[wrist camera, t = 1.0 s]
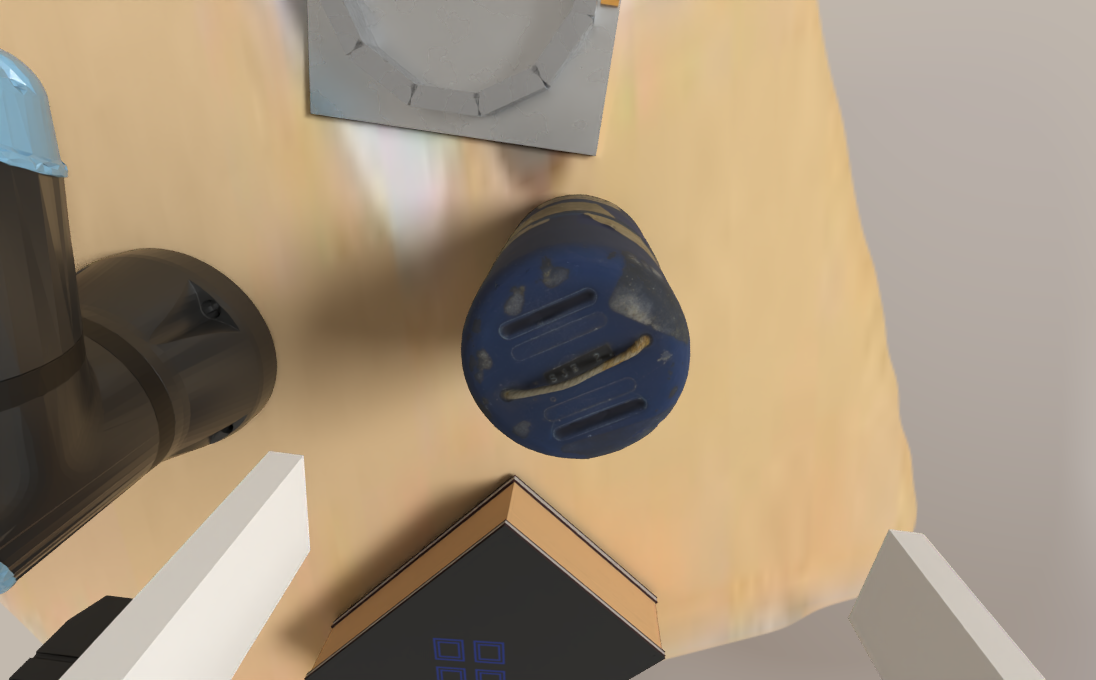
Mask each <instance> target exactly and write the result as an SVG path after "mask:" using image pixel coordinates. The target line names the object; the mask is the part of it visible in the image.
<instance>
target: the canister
mask: <svg viewBox="0 0 1096 680" xmlns="http://www.w3.org/2000/svg"><path fill="white" fill-rule="evenodd" d="M461 357H462V366H463V371H464V376H465V379H466V382H467V385H468V388H469V390H470V392H471V395H472V396H473V398H474V400H475V402H476V404H477V405H478V407H479V408H480V410H481V411H482V412H483V413H484V415H485V416H486V417H487V418H488V419H489V421H490V422H491V423H492V424H493V425H494V426H495V427H496V428H497V429H498V430H500V431H501V432H502V433H503V434H505V435H506V436H507V437H509V438H510V439H512V440H513V441H515V442H516V443H518V444H520V445H522V446H524V447H526V448H528V449H531V450H534V451H536V452H539V453H542V454H546V455H550V456H555V457H561V458H572V459H589V458H594V457H598V456H602V455H606V454H610V453H613V452H616V451H619V450H621V449H623V448H625V447H627V446H629V445H631V444H633V443H635V442H637V441H639V440H640V439H642V438H643V437H645V436H646V435H648V434H649V433H650V432H652V431H653V430H654V429H655V428H656V427H657V425H658V424H659V423H660V422H661V421H662V420H663V419H665V418H666V416H667V415H668V414H669V413H670V411H671V410H672V409H673V407H674V406H675V404H676V402H677V400H678V398H679V396H680V395H681V393H682V391H683V388H684V385H685V382H686V379H687V376H688V370H689V363H690V337H689V331H688V327H687V322H686V319H685V316H684V314H683V311H682V309H681V306H680V304H679V302H678V300H677V298H676V296H675V294H674V292H673V290H672V289H671V287H670V285H669V284H668V282H667V280H666V278H665V276H664V274H663V272H662V271H661V269H660V266H659V264H658V261H657V259H656V257H655V255H654V253H653V251H652V250H651V248H650V246H649V244H648V243H647V241H646V239H645V238H644V236H643V234H642V232H641V231H640V229H639V227H638V226H637V224H636V223H635V222H634V221H633V219H632V218H631V217H630V216H629V215H628V214H627V213H625V212H624V211H623V210H622V209H620V208H619V207H618V206H616V205H615V204H613V203H611V202H609V201H606V200H603V199H601V198H598V197H594V196H589V195H565V196H561V197H557V198H554V199H552V200H549V201H547V202H545V203H543V204H541V205H539V206H538V207H537V208H535V209H534V210H533V211H532V212H530V213H529V214H528V215H527V216H526V217H525V218H524V219H523V220H522V222H521V223H520V224H519V226H518V227H517V229H516V230H515V232H514V233H513V234H512V235H511V237H510V238H509V240H508V242H507V243H506V245H505V247H504V248H503V249H502V251H501V252H500V254H499V256H498V257H497V259H496V261H495V263H494V264H493V266H492V268H491V270H490V272H489V274H488V275H487V277H486V279H485V280H484V282H483V284H482V285H481V287H480V289H479V291H478V293H477V295H476V297H475V299H474V301H473V303H472V305H471V307H470V310H469V312H468V315H467V317H466V321H465V324H464V328H463V333H462V343H461Z"/></svg>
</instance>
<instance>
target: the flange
mask: <svg viewBox="0 0 1096 680" xmlns="http://www.w3.org/2000/svg"><path fill="white" fill-rule="evenodd" d="M620 3H621V0H307V15H308V46H309V78H310V109H311V114H317V115H324V116H331V117H337V118H344V119H351V120H358V121H364V122H371V123H378V124H385V125H391V126H398V127H405V128H412V129H418V130H425V131H432V132H439V133H445V134H452V135H459V136H466V137H472V138H479V139H486V140H492V141H499V142H506V143H513V144H519V145H526V146H533V147H540V148H546V149H553V150H560V151H567V152H573V153H580V154H587V155H594V156H596V151H597V145H598V139H599V133H600V127H601V120H602V114H603V108H604V102H605V96H606V89H607V83H608V77H609V71H610V65H611V58H612V52H613V46H614V40H615V34H616V28H617V21H618V15H619V9H620Z"/></svg>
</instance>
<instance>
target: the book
mask: <svg viewBox="0 0 1096 680" xmlns="http://www.w3.org/2000/svg"><path fill="white" fill-rule="evenodd" d="M656 603H657V597H656V596H655V595H654V594H653V593H651V592H650V591H649V590H648V589H647V588H646V587H644V586H643V585H642V584H641V583H640V582H639V581H637V580H636V579H635V578H634V577H633V576H632V575H630V574H629V573H628V572H627V571H626V570H625V569H624V568H622V567H621V566H620V565H619V564H618V563H617V562H615V561H614V560H613V559H612V558H611V557H610V556H608V555H607V554H606V553H605V552H604V551H603V550H602V549H600V548H599V547H598V546H597V545H596V544H595V543H593V542H592V541H591V540H590V539H589V538H588V537H586V536H585V535H584V534H583V533H582V532H581V531H579V530H578V529H577V528H576V527H575V526H574V525H573V524H571V523H570V522H569V521H568V520H567V519H566V518H564V517H563V516H562V515H561V514H560V513H559V512H557V511H556V510H555V509H554V508H553V507H552V506H551V505H549V504H548V503H547V502H546V501H545V500H544V499H542V498H541V497H540V496H539V495H538V494H537V493H535V492H534V491H533V490H532V489H531V488H530V487H528V486H527V485H526V484H525V483H524V482H523V481H522V480H520V479H519V478H518V477H517V476H516V475H514V476H513V477H512V478H510V479H509V480H508V481H507V482H505V483H504V484H503V485H502V486H500V487H499V488H498V489H497V490H496V491H494V492H493V493H492V494H491V495H489V496H488V497H487V498H486V499H484V500H483V501H482V502H481V503H479V504H478V505H477V506H476V507H475V508H473V509H472V510H471V511H470V512H468V513H467V514H466V515H465V516H463V517H462V518H461V519H460V520H458V521H457V522H456V523H455V524H454V525H452V526H451V527H450V528H449V529H447V530H446V531H445V532H444V533H442V534H441V535H440V536H439V537H437V538H436V539H435V540H434V541H433V542H431V543H430V544H429V545H428V546H426V547H425V548H424V549H423V550H421V551H420V552H419V553H418V554H416V555H415V556H414V557H413V558H412V559H410V560H409V561H408V562H407V563H405V564H404V565H403V566H402V567H400V568H399V569H398V570H397V571H395V572H394V573H393V574H392V575H391V576H389V577H388V578H387V579H386V580H384V581H383V582H382V583H381V584H379V585H378V586H377V587H376V588H374V589H373V590H372V591H371V592H370V593H368V594H367V595H366V596H365V597H363V598H362V599H361V600H360V601H358V602H357V603H356V604H355V605H353V606H352V607H351V608H350V609H349V610H347V611H346V612H345V613H344V614H342V615H341V616H340V617H339V618H337V619H336V620H335V621H334V622H333V624H332V626H331V627H332V628H333V629H332V631H331V633H330V635H329V637H328V639H327V641H326V643H325V645H324V647H323V649H322V651H321V652H320V654H319V656H318V658H317V660H316V662H315V664H314V666H313V668H312V670H311V671H310V672H309V673H307V676H306V677H305V678H304V679H305V680H629V679H631V678H632V677H634V676H636V675H638V674H639V673H641V672H643V671H645V670H646V669H648V668H650V667H651V666H653V665H655V664H657V663H658V662H660V661H662V660H663V659H665V654H664V652H665V651H664V650H663V649H662V647H661V640H660V633H659V626H658V618H657V611H656Z"/></svg>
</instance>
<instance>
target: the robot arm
mask: <svg viewBox="0 0 1096 680" xmlns="http://www.w3.org/2000/svg"><path fill="white" fill-rule="evenodd" d="M64 177H68V170H67V166H66V165H65V164H64V163H63V162H62V161H61V159H60V154H59V149H58V144H57V140H56V135H55V130H54V125H53V121H52V116H51V111H50V106H49V101H48V96H47V94H46V91H45V89H44V87H43V85H42V83H41V82H40V80H39V79H38V78H37V76H36V75H35V74H34V73H33V72H32V71H31V69H29V68H28V67H27V66H26V65H25V64H24V63H23V62H22V61H20V60H19V59H18V58H16V57H15V56H13V55H11V54H10V53H8V52H6V51H4V50H2V49H0V594H2V593H4V592H6V591H8V590H9V589H10V588H11V587H12V586H13V585H14V584H15V583H16V581H17V580H18V579H19V578H21V577H22V576H23V575H24V574H26V573H27V572H28V571H29V570H30V569H32V568H33V567H34V566H35V565H36V564H38V563H39V562H40V561H41V560H42V559H44V558H45V557H46V556H47V555H49V554H50V553H51V552H52V551H53V550H55V549H56V548H57V547H58V546H59V545H61V544H62V543H63V542H64V541H65V540H67V539H68V538H69V537H70V536H72V535H73V534H74V533H75V532H76V531H78V530H79V529H80V528H81V527H82V526H84V525H85V524H86V523H87V522H88V521H90V520H91V519H92V518H93V517H95V516H96V515H97V514H98V513H99V512H101V511H102V510H103V509H104V508H105V507H107V506H108V505H109V504H110V503H111V502H113V501H114V500H115V499H116V498H118V497H119V496H120V495H121V494H122V493H124V492H125V491H126V490H127V489H128V488H130V487H131V486H132V485H133V484H134V483H136V482H137V481H138V480H139V479H141V478H142V477H143V476H144V475H145V474H146V473H148V472H149V471H150V470H151V469H153V468H154V467H155V466H157V465H158V464H159V463H161V462H163V461H165V460H168V459H171V458H174V457H176V456H179V455H182V454H184V453H187V452H190V451H193V450H196V449H198V448H201V447H204V446H207V445H209V444H212V443H215V442H218V441H220V440H222V439H225V438H227V437H229V436H230V435H232V434H234V433H235V432H237V431H238V430H239V429H241V428H242V427H243V426H244V425H245V424H247V423H248V422H249V421H250V420H251V419H252V418H253V417H254V416H256V415H257V414H258V413H259V412H260V411H261V410H262V408H263V407H264V406H265V404H266V403H267V401H268V400H269V398H270V396H271V393H272V391H273V388H274V384H275V380H276V371H277V361H276V353H275V348H274V344H273V340H272V337H271V334H270V332H269V330H268V327H267V325H266V323H265V321H264V319H263V318H262V316H261V314H260V313H259V311H258V310H257V308H256V307H255V305H254V304H253V303H252V301H251V300H250V299H249V298H248V296H247V295H246V294H245V293H244V292H243V291H242V290H241V289H240V288H239V287H238V286H237V285H236V284H235V283H234V282H233V281H231V280H230V279H229V278H228V277H226V276H225V275H224V274H222V273H221V272H219V271H218V270H216V269H215V268H213V267H212V266H210V265H208V264H206V263H204V262H202V261H200V260H198V259H196V258H193V257H191V256H188V255H185V254H182V253H179V252H175V251H170V250H164V249H152V248H149V249H136V250H131V251H127V252H123V253H120V254H116V255H113V256H109V257H106V258H103V259H100V260H98V261H95V262H93V263H91V264H89V265H87V266H85V267H84V268H82V269H81V270H79V271H78V272H77V273H76V272H75V265H74V257H73V250H72V243H71V235H70V228H69V220H68V211H67V202H66V193H65V184H64ZM309 552H310V541H309V526H308V512H307V498H306V484H305V469H304V455H296V454H288V453H280V452H272V451H269V452H268V453H267V454H266V455H265V456H264V457H263V459H262V460H261V461H260V462H259V463H258V464H257V465H256V466H255V467H254V468H253V469H252V470H251V472H250V473H249V474H248V475H247V476H246V477H245V478H244V479H243V480H242V481H241V482H240V484H239V485H238V486H237V487H236V488H235V489H234V490H233V491H232V492H231V493H230V494H229V495H228V497H227V498H226V499H225V500H224V501H223V502H222V503H221V504H220V505H219V506H218V507H217V508H216V510H215V511H214V512H213V513H212V514H211V515H210V516H209V517H208V518H207V519H206V520H205V522H204V523H203V524H202V525H201V526H200V527H199V528H198V529H197V530H196V531H195V532H194V533H193V535H192V536H191V537H190V538H189V539H188V540H187V541H186V542H185V543H184V544H183V545H182V547H181V548H180V549H179V550H178V551H177V552H176V553H175V554H174V555H173V556H172V557H171V558H170V560H169V561H168V562H167V563H166V564H165V565H164V566H163V567H162V568H161V569H160V570H159V572H158V573H157V574H156V575H155V576H154V577H153V578H152V579H151V580H150V581H149V582H148V583H147V585H146V586H145V587H144V588H143V589H142V590H141V591H140V592H139V593H138V594H137V595H136V596H135V598H134V599H131V598H123V597H115V596H105V597H103V598H102V599H100V600H99V601H97V602H96V603H94V604H93V605H91V606H89V607H88V608H86V609H85V610H83V611H82V612H80V613H79V614H77V615H75V616H74V617H72V618H71V619H69V620H68V621H67V622H66V623H65V624H64V625H63V626H62V627H61V628H60V629H59V630H58V631H57V632H56V633H55V634H54V635H53V636H52V637H51V638H50V639H49V640H48V641H46V642H45V643H44V644H43V645H42V646H41V648H39V649H38V650H37V652H36V655H35V656H34V657H33V658H30V659H28V661H26V662H25V663H24V664H23V665H22V667H20V668H19V669H18V670H17V671H16V672H15V673H14V674H13V675H12V676H11V677H10V678H9V680H231V679H232V677H233V675H234V674H235V672H236V670H237V669H238V667H239V666H240V664H241V662H242V661H243V659H244V657H245V656H246V654H247V653H248V651H249V649H250V648H251V646H252V644H253V643H254V641H255V640H256V638H257V636H258V635H259V633H260V631H261V630H262V628H263V626H264V625H265V623H266V622H267V620H268V618H269V617H270V615H271V613H272V612H273V610H274V609H275V607H276V605H277V604H278V602H279V600H280V599H281V597H282V596H283V594H284V592H285V591H286V589H287V587H288V586H289V584H290V583H291V581H292V579H293V578H294V576H295V574H296V573H297V571H298V569H299V568H300V566H301V565H302V563H303V561H304V560H305V558H306V556H307V555H308V553H309ZM848 619H849V621H850V623H851V624H852V626H853V628H854V630H855V632H856V633H857V635H858V637H859V639H860V641H861V643H862V644H863V646H864V648H865V650H866V652H867V654H868V656H869V657H870V659H871V661H872V663H873V665H874V667H875V668H876V670H877V672H878V674H879V676H880V677H881V679H882V680H1046V679H1045V678H1044V677H1043V676H1042V675H1041V673H1040V672H1039V671H1038V670H1037V669H1036V667H1035V666H1034V665H1033V664H1032V663H1031V662H1030V660H1029V659H1028V658H1027V657H1026V656H1025V655H1024V653H1023V652H1022V651H1021V650H1020V648H1019V647H1018V646H1017V645H1016V644H1015V642H1014V641H1013V640H1012V639H1011V638H1010V636H1009V635H1008V634H1007V633H1006V632H1005V631H1004V630H1003V628H1002V627H1001V626H1000V625H999V623H998V622H997V621H996V620H995V619H994V618H993V616H992V615H991V614H990V613H989V611H988V610H987V609H986V608H985V607H984V606H983V604H982V603H981V602H980V601H979V600H978V598H977V597H976V596H975V595H974V594H973V592H972V591H971V590H970V589H969V588H968V586H967V585H966V584H965V583H964V582H963V580H962V579H961V578H960V577H959V576H958V574H957V573H956V572H955V571H954V570H953V569H952V567H951V566H950V565H949V564H948V563H947V561H946V560H945V559H944V558H943V557H942V555H941V554H940V553H939V552H938V551H937V549H936V548H935V547H934V546H933V545H932V543H931V542H930V541H929V540H928V539H927V538H926V536H925V535H924V534H922V533H915V532H907V531H899V530H891V529H889V531H888V533H887V535H886V537H885V539H884V541H883V544H882V546H881V548H880V550H879V552H878V554H877V557H876V559H875V561H874V563H873V565H872V567H871V570H870V572H869V574H868V576H867V578H866V580H865V583H864V585H863V587H862V589H861V591H860V593H859V596H858V598H857V600H856V602H855V604H854V607H853V609H852V611H851V613H850V615H849V618H848Z"/></svg>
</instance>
